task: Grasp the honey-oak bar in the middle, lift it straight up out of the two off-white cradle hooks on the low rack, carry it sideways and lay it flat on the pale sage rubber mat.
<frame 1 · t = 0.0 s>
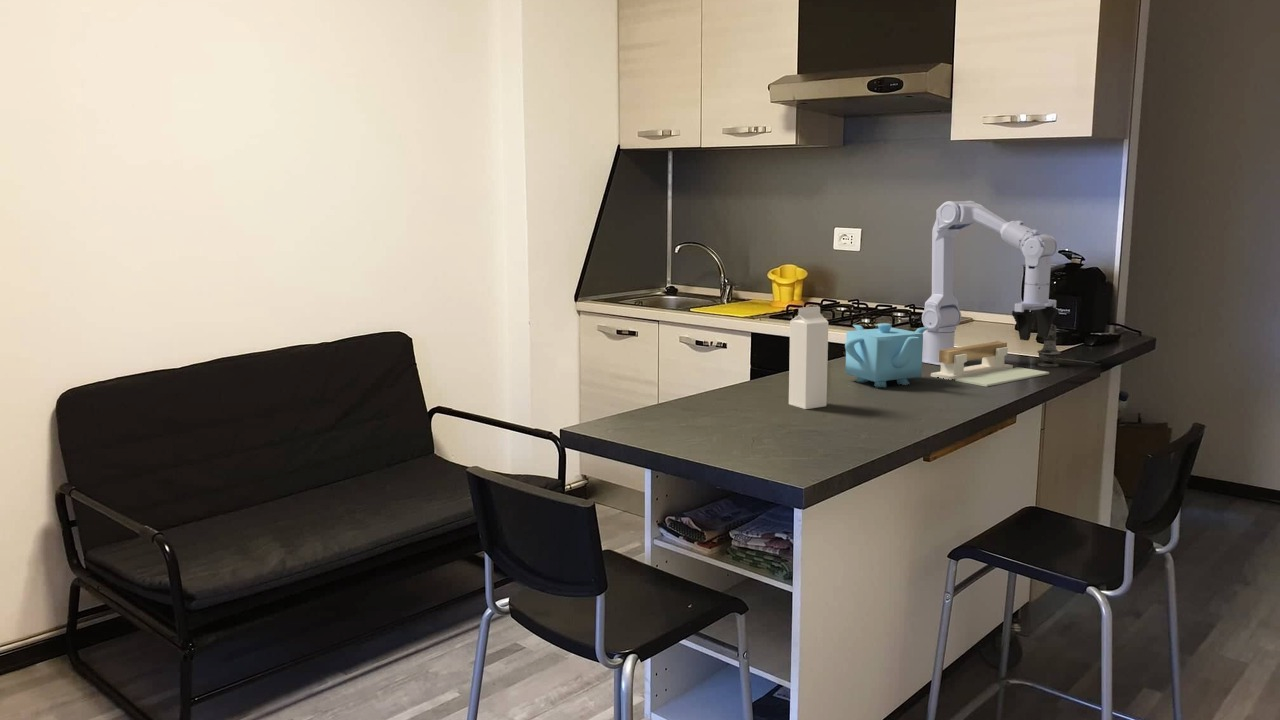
hand: (1033, 338, 240), 10 cm above the countertop, fingers open, 7 cm apart
teakettle: (886, 382, 239), on the countertop
oak bar: (973, 357, 250), point 4 cm above the countertop, touching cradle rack
grey chess piece: (1048, 365, 259), on the countertop
milk: (807, 406, 214), on the countertop
sage mat: (1002, 377, 243), on the countertop
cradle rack: (972, 372, 251), on the countertop
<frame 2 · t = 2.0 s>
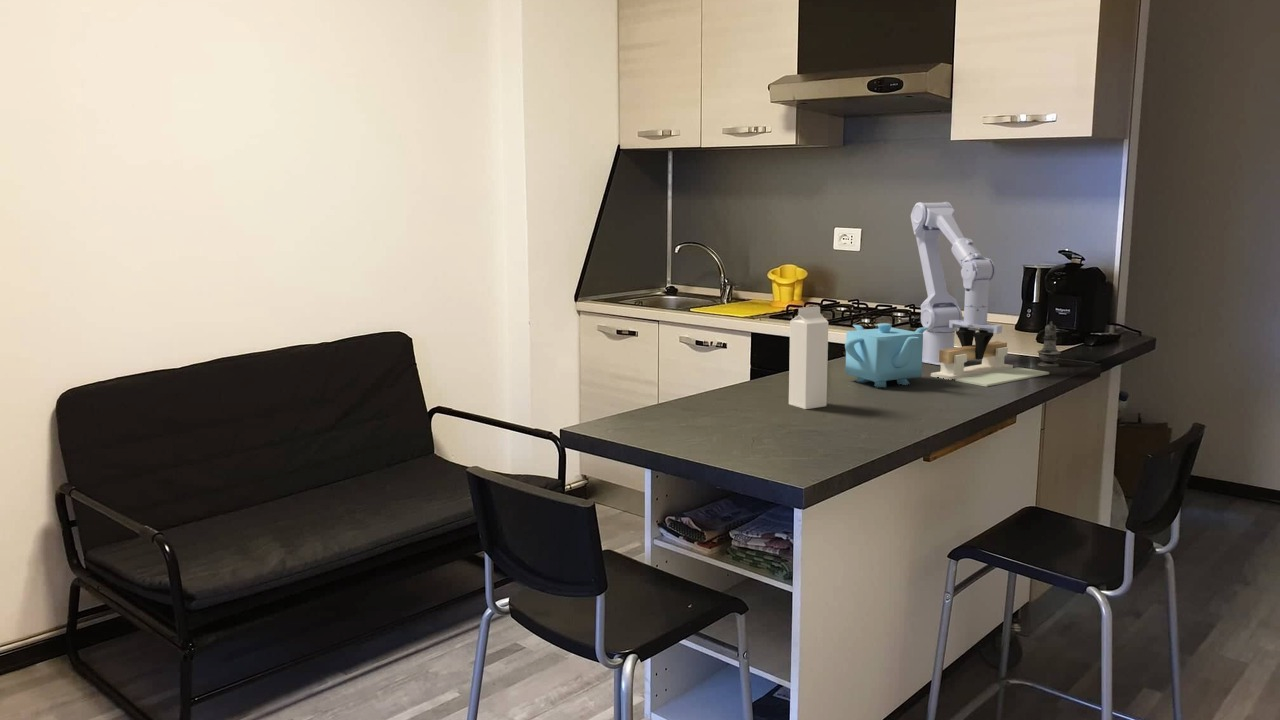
hand: (973, 358, 250), 4 cm above the countertop, fingers closed on oak bar, 3 cm apart
oak bar: (973, 357, 250), point 4 cm above the countertop, touching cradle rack, gripper
everything else where it was.
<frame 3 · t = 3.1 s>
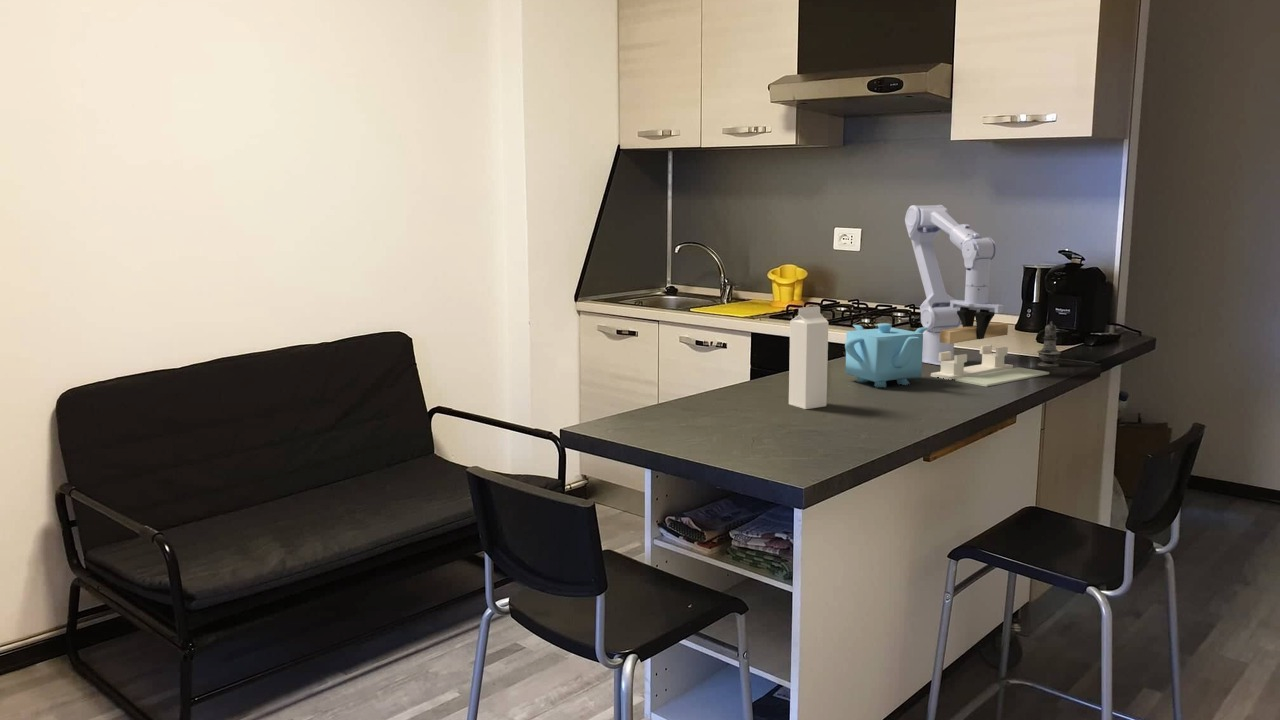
hand: (974, 338, 249), 9 cm above the countertop, fingers closed on oak bar, 3 cm apart
oak bar: (974, 338, 249), point 9 cm above the countertop, touching gripper
everything else where it was.
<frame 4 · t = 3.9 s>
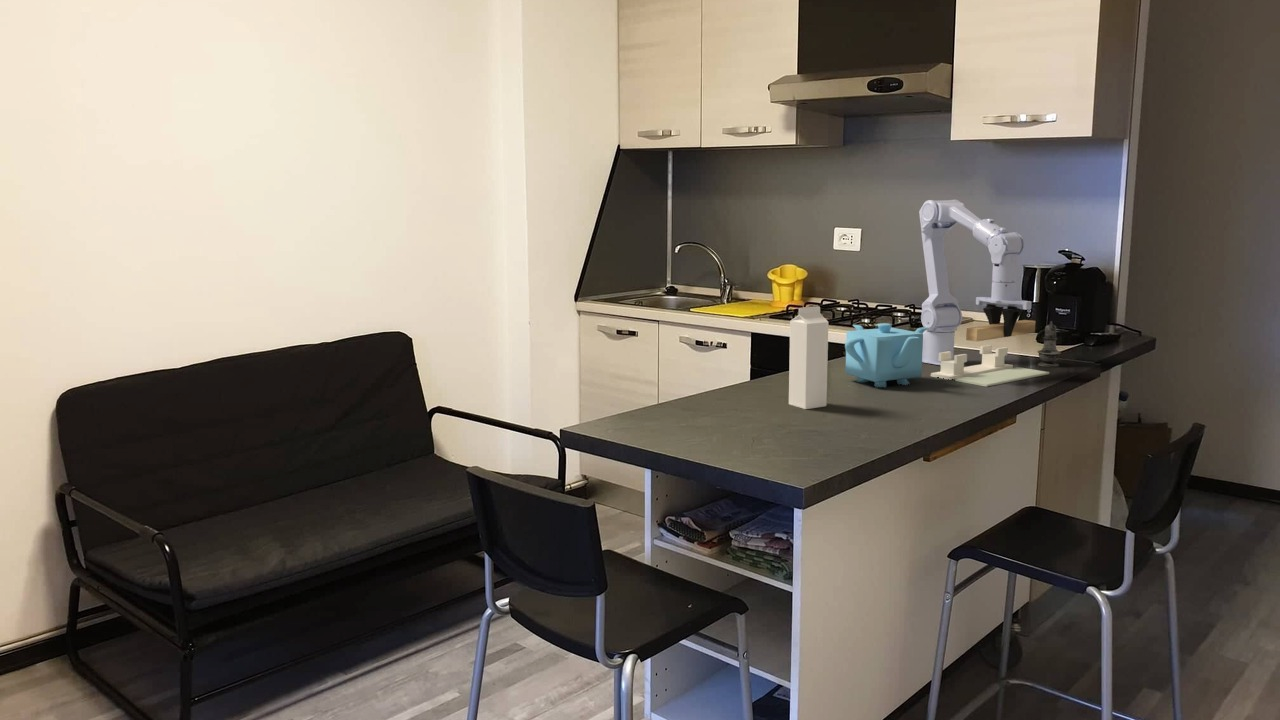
hand: (1001, 335, 242), 11 cm above the countertop, fingers closed on oak bar, 3 cm apart
oak bar: (1001, 336, 242), point 10 cm above the countertop, touching gripper
everything else where it was.
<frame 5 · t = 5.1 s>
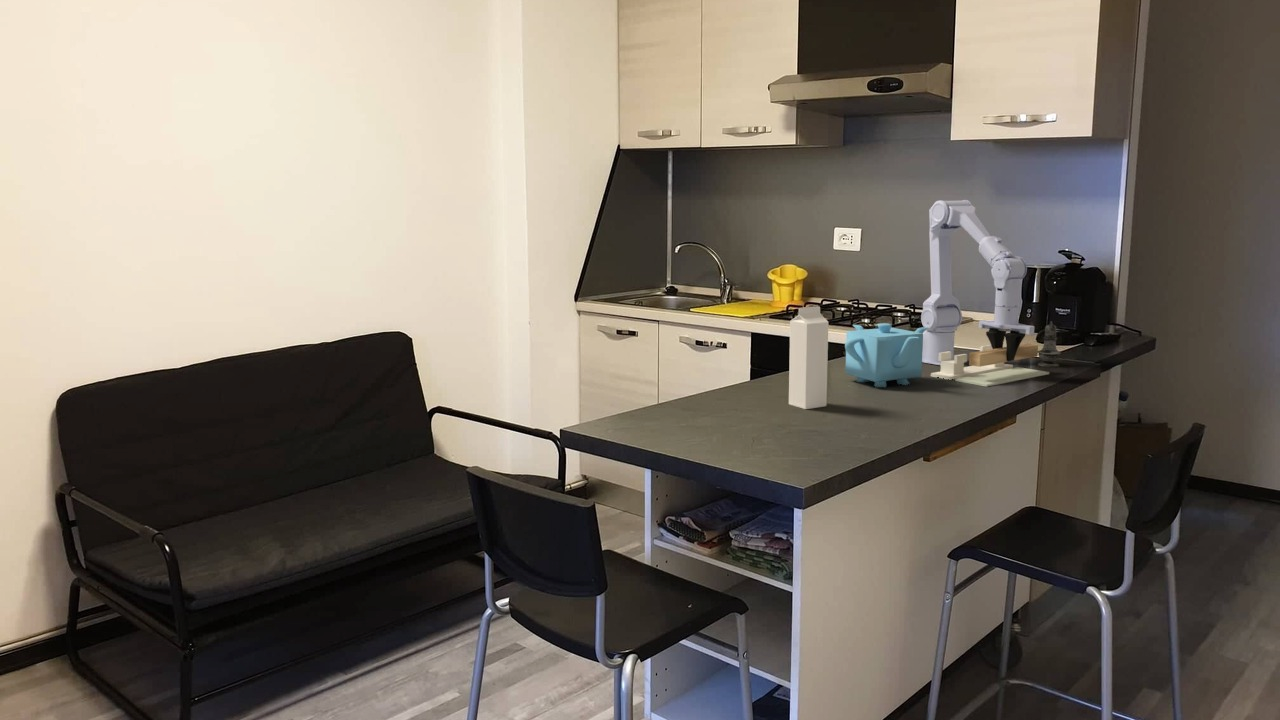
hand: (1004, 359, 242), 5 cm above the countertop, fingers closed on oak bar, 3 cm apart
oak bar: (1004, 360, 242), point 4 cm above the countertop, touching gripper
everything else where it was.
when the fingers open (2 cm above the countertop, at t = 5.9 s): oak bar drops 1 cm, resting on sage mat.
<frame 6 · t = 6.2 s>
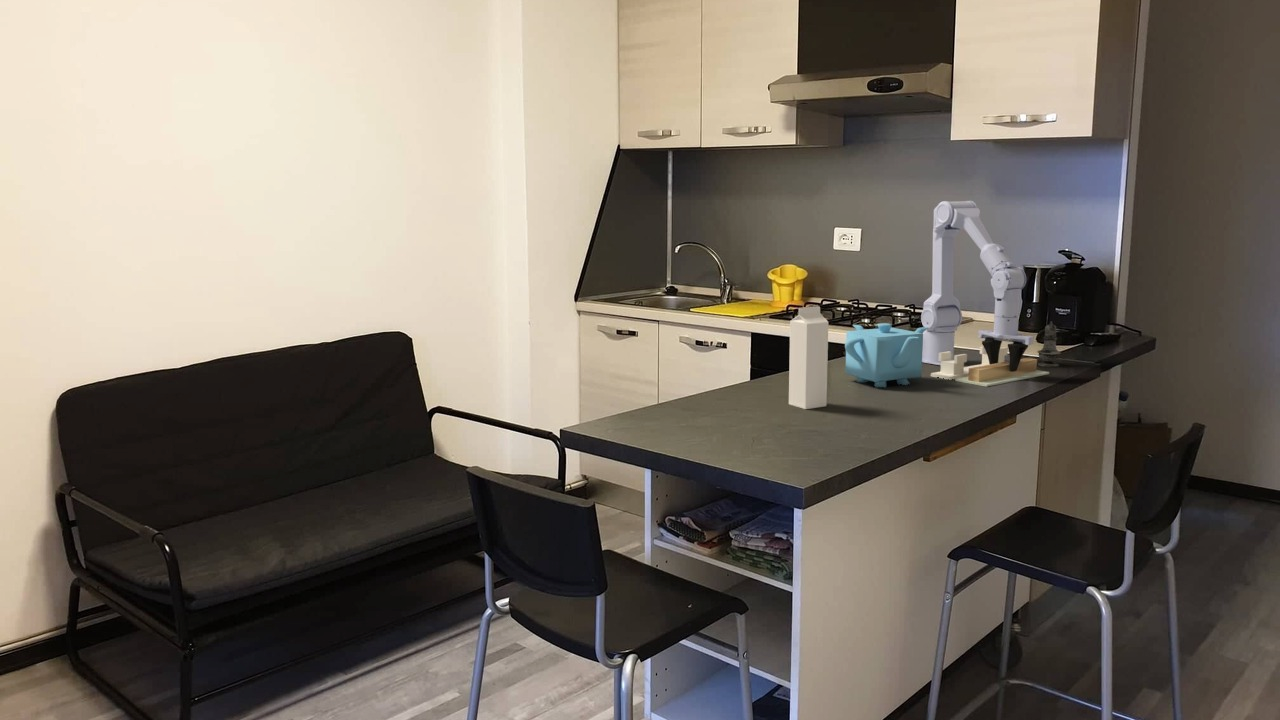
hand: (1003, 369, 243), 2 cm above the countertop, fingers open, 5 cm apart
oak bar: (1003, 375, 243), resting on sage mat
everything else where it was.
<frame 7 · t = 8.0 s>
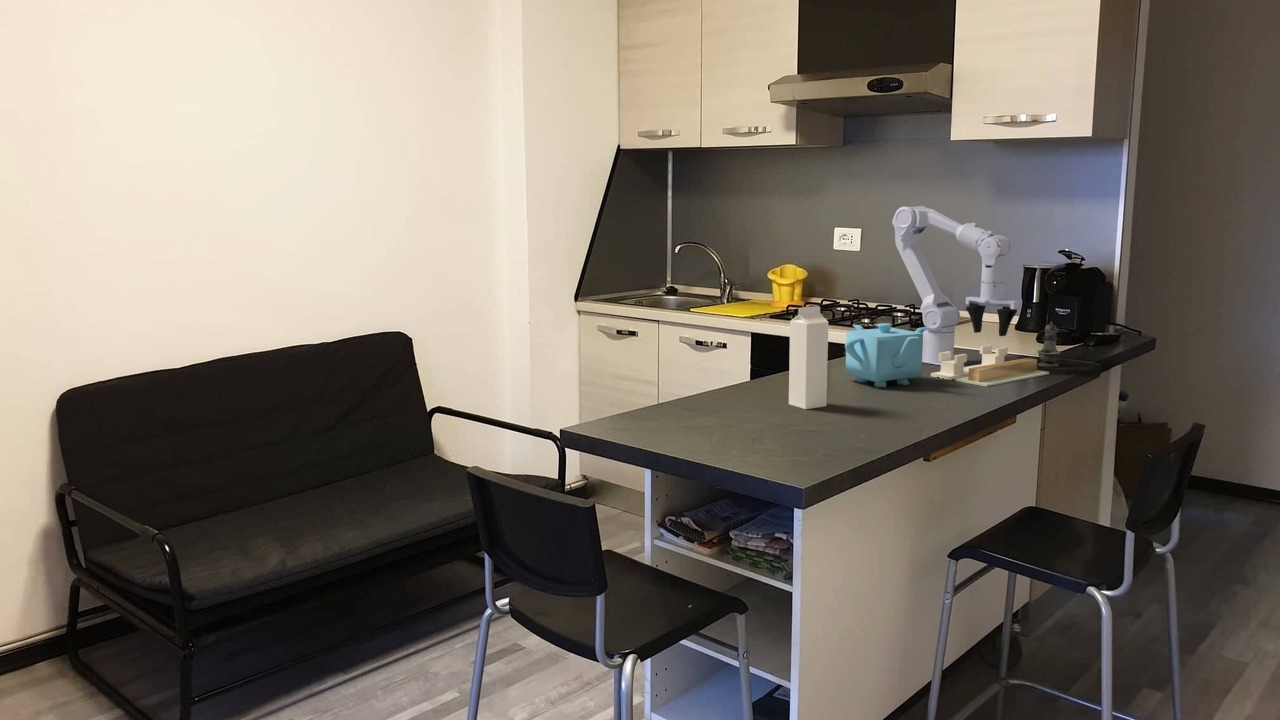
hand: (989, 334, 253), 9 cm above the countertop, fingers open, 7 cm apart
nothing on the countertop moved.
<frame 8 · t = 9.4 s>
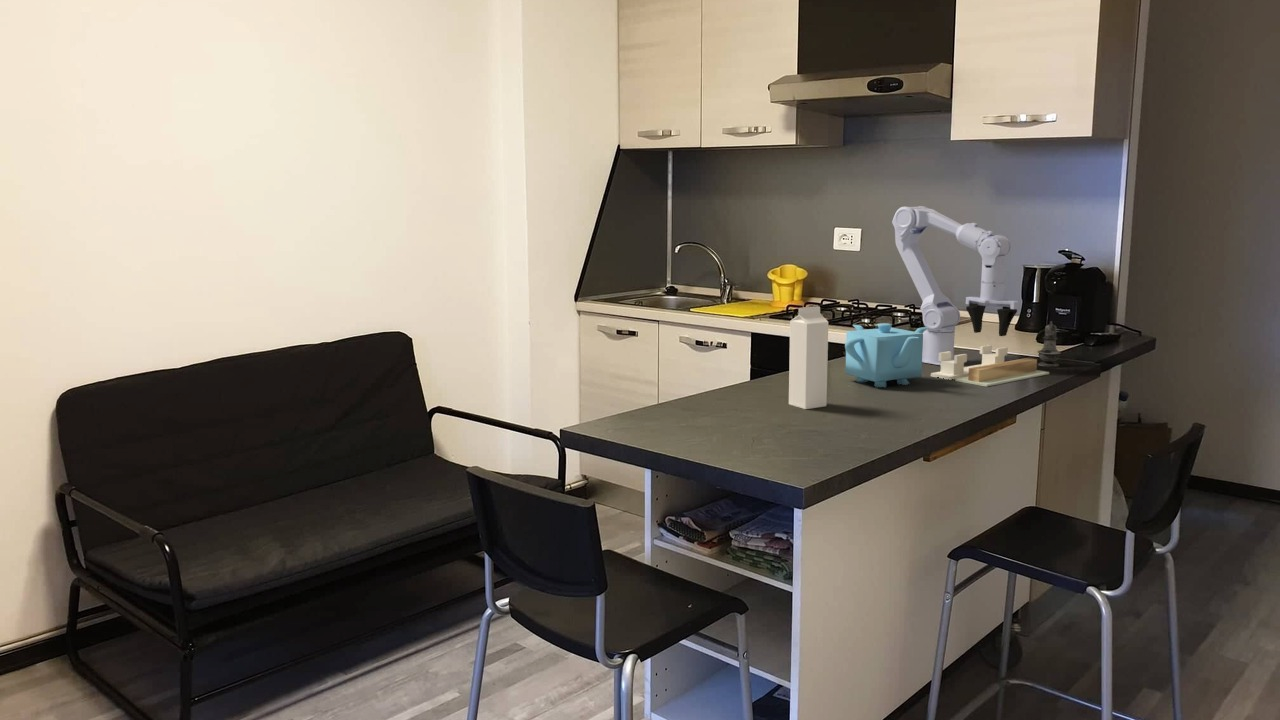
hand: (989, 334, 253), 9 cm above the countertop, fingers open, 7 cm apart
nothing on the countertop moved.
at the end: oak bar 0.0 cm off-centre on the sage mat, point 0.5 cm above the sage mat's base; oak bar tilted 0°; the gripper is holding nothing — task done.
